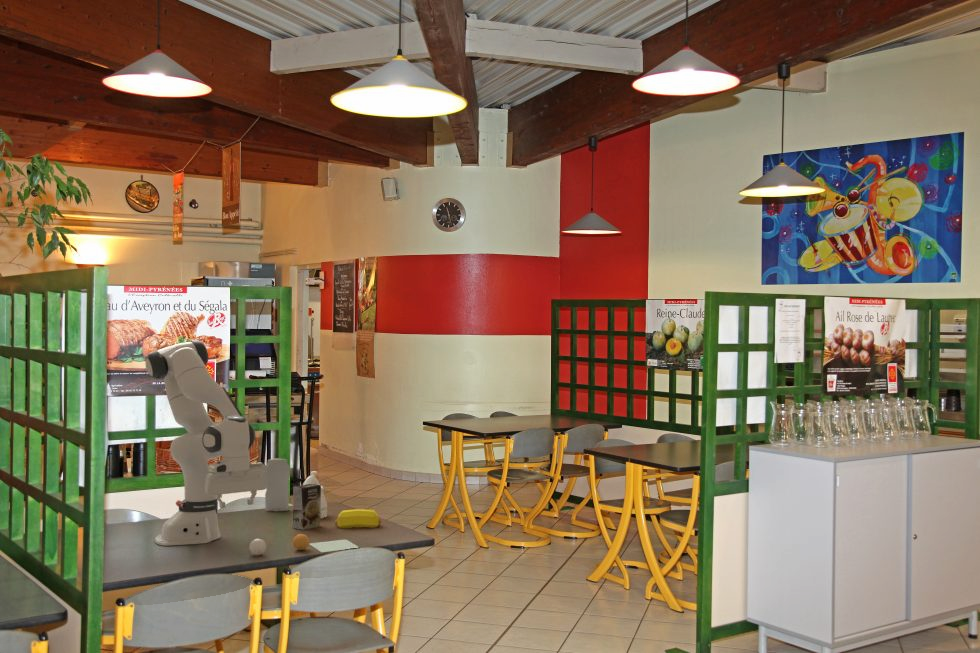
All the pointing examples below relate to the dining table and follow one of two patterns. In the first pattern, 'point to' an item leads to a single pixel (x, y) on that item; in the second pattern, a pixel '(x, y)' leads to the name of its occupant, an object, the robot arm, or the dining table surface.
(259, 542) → the cue ball
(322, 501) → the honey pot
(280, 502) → the tall pale column
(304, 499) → the coffee box
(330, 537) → the dining table surface
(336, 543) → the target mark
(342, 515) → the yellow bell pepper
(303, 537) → the object ball
